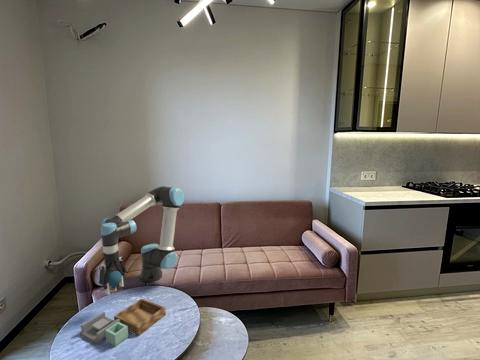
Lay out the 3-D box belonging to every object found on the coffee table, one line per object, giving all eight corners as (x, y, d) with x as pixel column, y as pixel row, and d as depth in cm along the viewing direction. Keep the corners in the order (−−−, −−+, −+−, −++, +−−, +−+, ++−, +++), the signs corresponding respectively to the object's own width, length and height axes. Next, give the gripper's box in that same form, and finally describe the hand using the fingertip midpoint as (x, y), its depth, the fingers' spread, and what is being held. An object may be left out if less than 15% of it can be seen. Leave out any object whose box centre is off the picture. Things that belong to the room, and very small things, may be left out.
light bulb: (116, 296, 148) (114, 275, 146) (103, 294, 150) (100, 274, 148) (126, 287, 157) (124, 268, 155) (112, 286, 158) (111, 266, 156)
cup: (118, 332, 138) (118, 321, 137) (128, 337, 134) (127, 326, 133) (106, 341, 132) (105, 330, 131) (115, 346, 128) (115, 335, 127)
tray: (142, 305, 160) (141, 298, 160) (165, 315, 151) (165, 307, 151) (114, 323, 144) (113, 316, 144) (139, 335, 135) (138, 327, 135)
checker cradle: (105, 319, 148) (104, 310, 147) (122, 327, 141) (122, 318, 141) (79, 335, 136) (78, 325, 135) (97, 345, 129) (96, 335, 129)
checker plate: (102, 320, 142) (102, 318, 142) (110, 323, 139) (110, 321, 139) (91, 326, 137) (91, 325, 137) (99, 330, 134) (99, 329, 134)
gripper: (122, 243, 160) (125, 279, 164) (88, 257, 142) (92, 297, 146) (131, 245, 157) (134, 282, 160) (97, 260, 139) (101, 301, 142)
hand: (114, 289), depth 153 cm, fingers closed on light bulb, 8 cm apart
